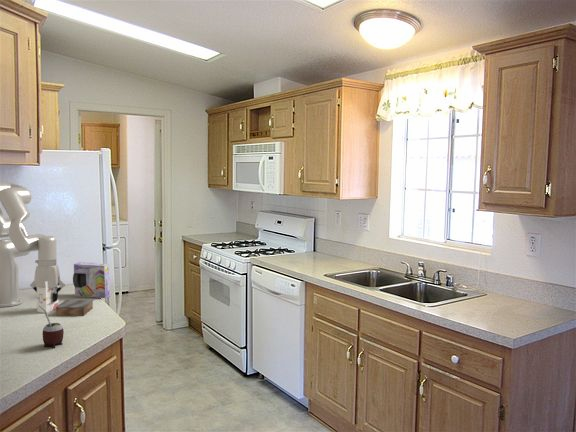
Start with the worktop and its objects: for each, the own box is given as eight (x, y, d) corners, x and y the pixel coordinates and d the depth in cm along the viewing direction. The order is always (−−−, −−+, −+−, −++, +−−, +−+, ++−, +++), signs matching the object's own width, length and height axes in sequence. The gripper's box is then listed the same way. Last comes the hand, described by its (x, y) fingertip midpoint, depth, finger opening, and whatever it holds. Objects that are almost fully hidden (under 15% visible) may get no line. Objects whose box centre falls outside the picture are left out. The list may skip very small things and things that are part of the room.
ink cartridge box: (49, 307, 225) (49, 277, 223) (58, 308, 224) (58, 277, 222) (36, 312, 216) (36, 280, 215) (46, 313, 215) (45, 281, 214)
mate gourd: (64, 347, 176) (64, 307, 175) (41, 350, 172) (40, 310, 170) (62, 340, 182) (61, 302, 181) (39, 344, 178) (38, 305, 176)
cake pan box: (72, 296, 246) (72, 262, 244) (78, 293, 251) (78, 261, 249) (104, 299, 242) (104, 265, 240) (110, 297, 247) (110, 263, 245)
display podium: (55, 315, 212) (55, 307, 212) (66, 307, 225) (66, 299, 224) (84, 316, 213) (84, 307, 213) (93, 308, 226) (93, 300, 225)
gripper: (24, 264, 213) (24, 303, 215) (63, 264, 215) (63, 303, 216) (31, 261, 221) (32, 298, 222) (69, 261, 222) (70, 299, 224)
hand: (47, 300), depth 219 cm, fingers closed on ink cartridge box, 5 cm apart
